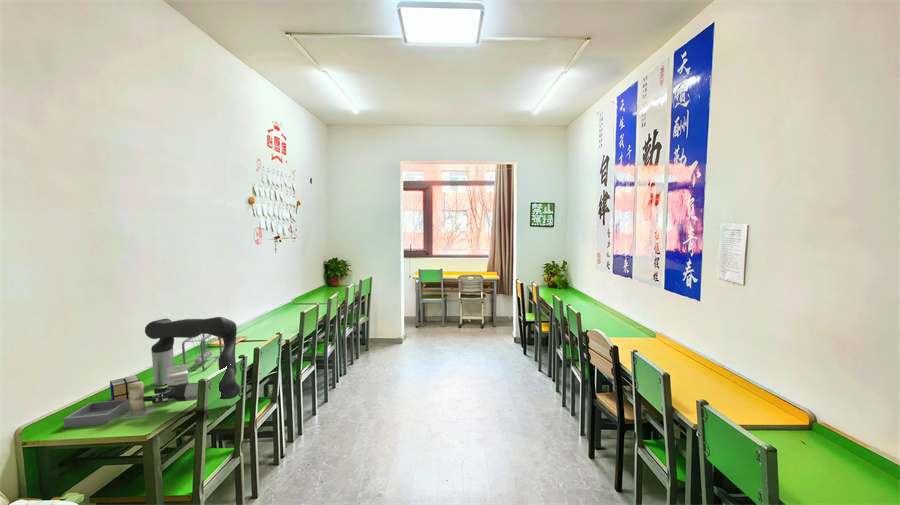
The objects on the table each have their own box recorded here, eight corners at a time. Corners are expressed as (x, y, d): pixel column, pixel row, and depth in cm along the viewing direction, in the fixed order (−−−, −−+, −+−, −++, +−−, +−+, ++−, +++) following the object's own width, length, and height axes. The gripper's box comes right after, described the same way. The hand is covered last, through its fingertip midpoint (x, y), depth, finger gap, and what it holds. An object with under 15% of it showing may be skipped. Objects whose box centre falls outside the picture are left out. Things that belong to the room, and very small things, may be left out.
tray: (91, 411, 184) (90, 402, 183) (131, 407, 186) (130, 398, 186) (64, 428, 168) (63, 418, 168) (108, 424, 170) (107, 414, 170)
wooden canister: (135, 411, 181) (132, 382, 181) (147, 409, 182) (145, 381, 181) (128, 416, 176) (125, 386, 176) (141, 414, 177) (139, 385, 176)
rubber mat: (132, 410, 183) (132, 409, 183) (157, 407, 185) (157, 406, 185) (118, 420, 174) (118, 419, 174) (144, 417, 175) (144, 416, 175)
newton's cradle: (204, 371, 233) (202, 340, 231) (183, 373, 231) (181, 342, 229) (222, 355, 262) (220, 327, 261) (204, 357, 260) (202, 329, 259)
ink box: (168, 401, 192) (165, 370, 191) (168, 397, 196) (165, 367, 195) (189, 396, 197) (187, 366, 196) (189, 393, 201) (187, 363, 200)
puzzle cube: (111, 401, 194) (109, 380, 193) (137, 395, 201) (136, 374, 200) (114, 407, 187) (112, 386, 186) (141, 400, 194) (139, 379, 193)
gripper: (196, 377, 189) (157, 380, 186) (181, 389, 175) (138, 393, 172) (197, 393, 189) (158, 397, 187) (182, 407, 175) (140, 410, 173)
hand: (149, 395), depth 180 cm, fingers open, 8 cm apart
